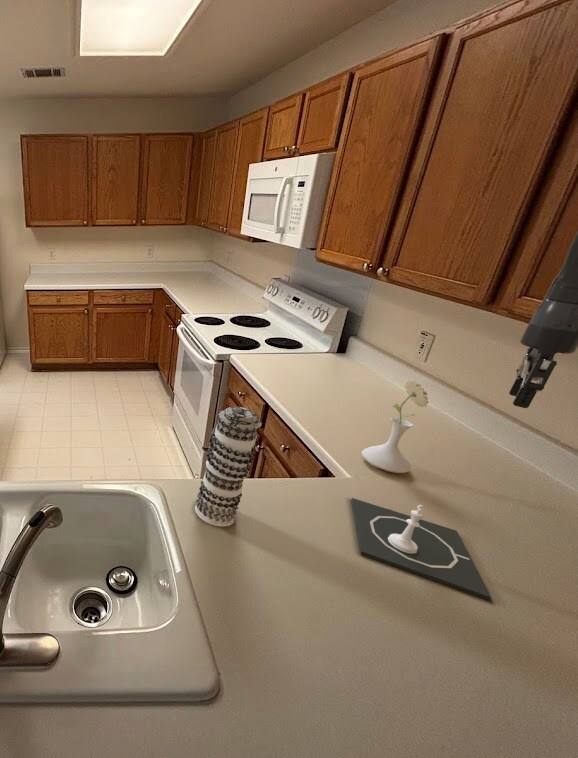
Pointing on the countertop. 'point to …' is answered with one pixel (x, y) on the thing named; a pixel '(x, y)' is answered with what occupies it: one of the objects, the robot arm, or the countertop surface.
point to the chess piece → (407, 533)
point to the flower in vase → (396, 436)
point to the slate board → (435, 548)
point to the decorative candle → (227, 465)
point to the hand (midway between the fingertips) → (517, 400)
